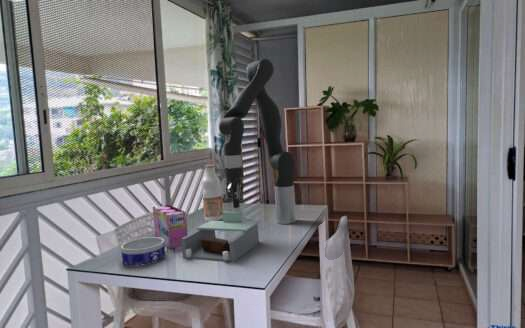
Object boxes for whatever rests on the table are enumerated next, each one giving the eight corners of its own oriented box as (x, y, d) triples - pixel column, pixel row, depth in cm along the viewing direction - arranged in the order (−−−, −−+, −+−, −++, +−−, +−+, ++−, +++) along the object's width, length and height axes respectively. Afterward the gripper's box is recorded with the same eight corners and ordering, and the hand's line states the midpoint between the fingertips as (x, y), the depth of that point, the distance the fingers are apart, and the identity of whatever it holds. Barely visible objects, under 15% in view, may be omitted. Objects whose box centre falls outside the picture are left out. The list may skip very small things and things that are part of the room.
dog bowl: (150, 249, 148) (148, 234, 147) (174, 255, 138) (172, 240, 137) (114, 261, 136) (112, 245, 135) (137, 269, 126) (135, 252, 126)
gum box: (153, 236, 166) (150, 206, 165) (171, 232, 170) (168, 203, 169) (170, 249, 146) (166, 215, 145) (189, 244, 150) (186, 211, 149)
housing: (212, 239, 155) (211, 222, 154) (259, 241, 147) (257, 224, 146) (180, 258, 133) (178, 239, 133) (232, 263, 125) (231, 242, 125)
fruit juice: (201, 220, 190) (196, 166, 187) (215, 216, 196) (211, 163, 193) (212, 222, 183) (207, 166, 180) (227, 218, 189) (222, 164, 186)
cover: (210, 222, 154) (209, 211, 153) (257, 223, 146) (256, 212, 146) (197, 229, 144) (196, 217, 144) (246, 231, 136) (245, 219, 136)
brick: (202, 251, 137) (201, 239, 137) (209, 248, 141) (208, 236, 140) (223, 255, 131) (222, 242, 131) (230, 252, 134) (230, 239, 134)
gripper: (232, 164, 160) (235, 204, 161) (217, 168, 147) (220, 210, 149) (248, 164, 157) (251, 204, 158) (234, 167, 144) (237, 211, 146)
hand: (236, 207), depth 154 cm, fingers closed
